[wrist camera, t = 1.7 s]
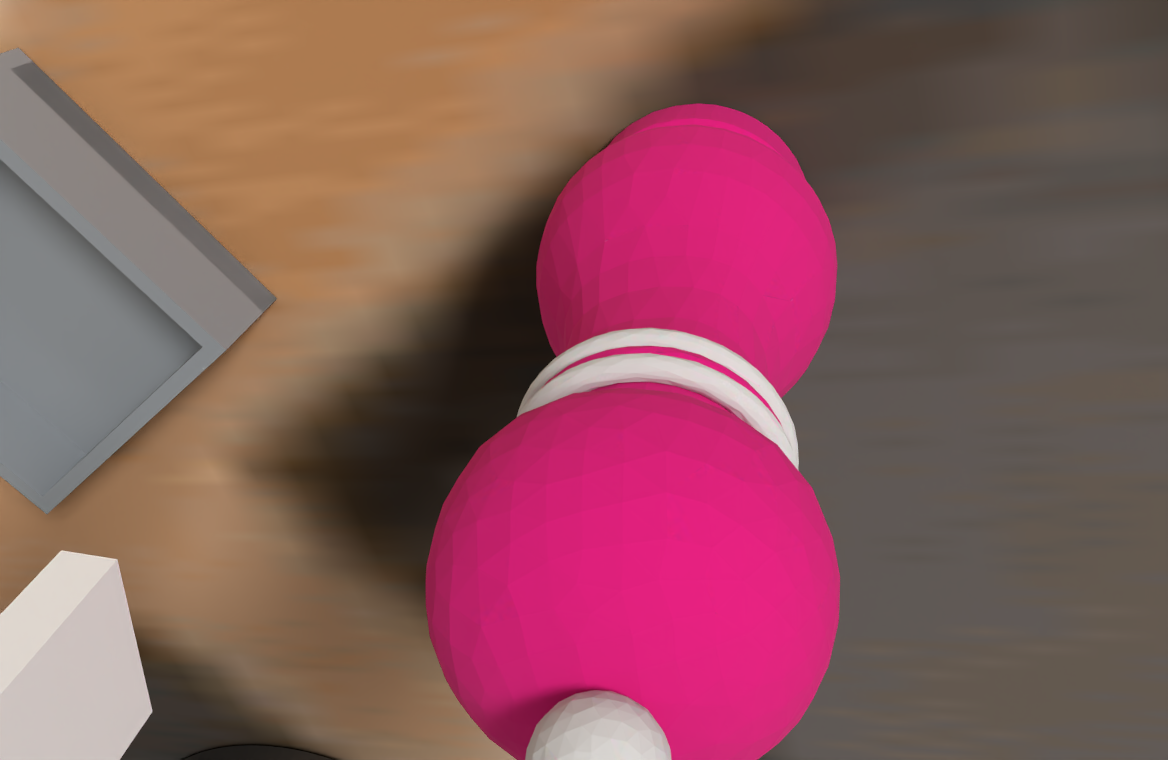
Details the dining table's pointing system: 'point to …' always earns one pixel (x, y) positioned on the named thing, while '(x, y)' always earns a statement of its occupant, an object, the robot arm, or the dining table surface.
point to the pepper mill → (653, 467)
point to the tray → (95, 291)
